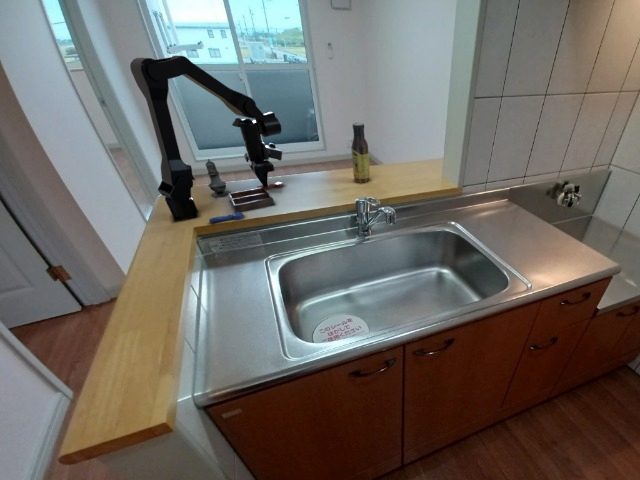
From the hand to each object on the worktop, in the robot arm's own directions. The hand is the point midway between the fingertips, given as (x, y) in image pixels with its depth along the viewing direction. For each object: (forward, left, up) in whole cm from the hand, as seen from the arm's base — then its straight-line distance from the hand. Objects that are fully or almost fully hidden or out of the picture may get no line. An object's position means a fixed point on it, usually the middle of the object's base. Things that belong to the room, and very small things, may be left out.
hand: (265, 186), depth 119 cm
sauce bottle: (+34, -11, -1) cm, 36 cm away
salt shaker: (-15, +3, -1) cm, 15 cm away
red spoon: (+2, 0, -1) cm, 2 cm away
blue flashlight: (-16, -21, -1) cm, 26 cm away
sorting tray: (-7, -11, -1) cm, 13 cm away
